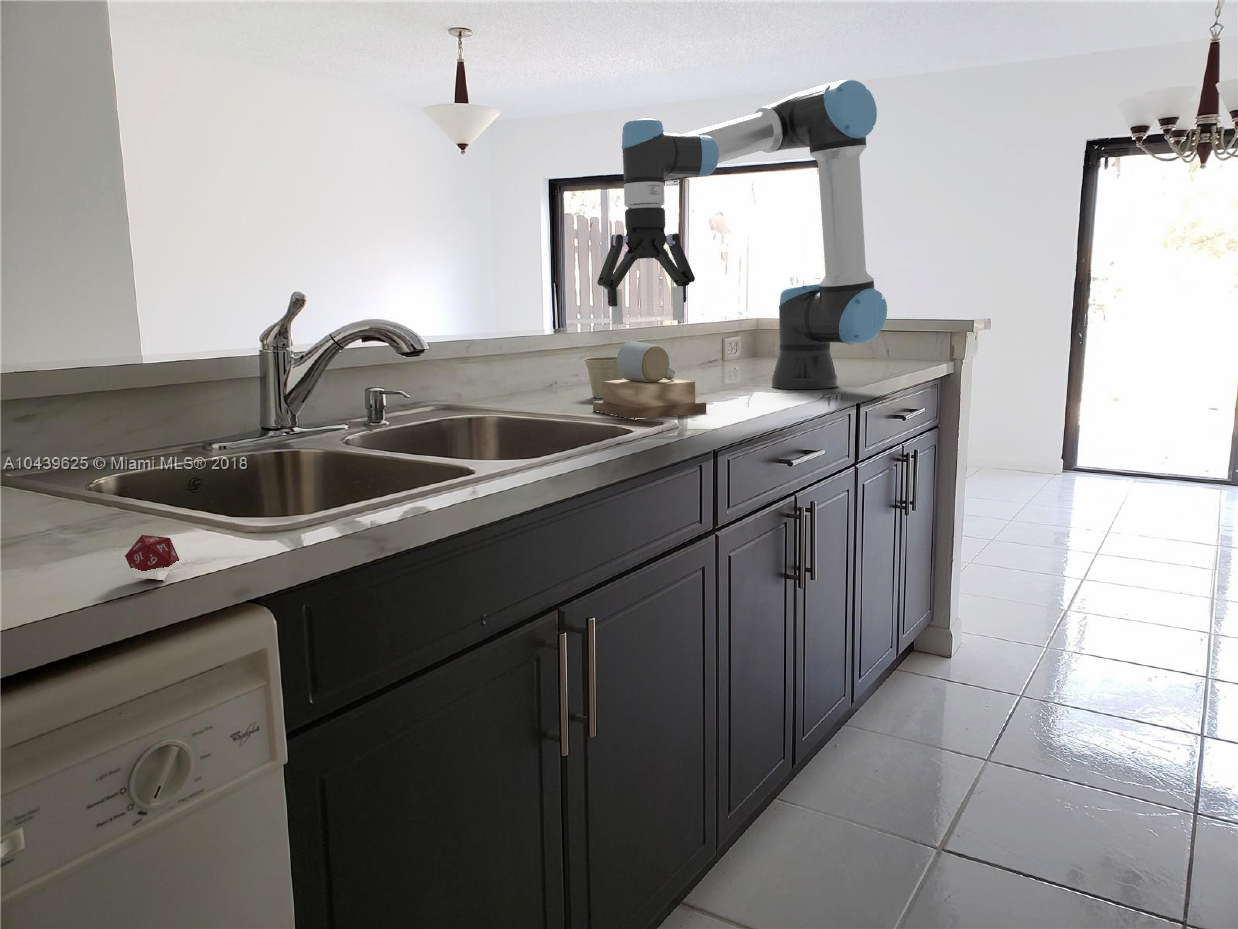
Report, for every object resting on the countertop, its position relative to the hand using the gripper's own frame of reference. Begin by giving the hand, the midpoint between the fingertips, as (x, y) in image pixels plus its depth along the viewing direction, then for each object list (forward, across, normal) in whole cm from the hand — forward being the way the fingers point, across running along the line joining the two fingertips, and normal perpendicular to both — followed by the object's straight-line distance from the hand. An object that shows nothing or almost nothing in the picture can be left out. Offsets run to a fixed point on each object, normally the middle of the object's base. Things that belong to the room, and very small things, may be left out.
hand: (648, 322), depth 179 cm
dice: (+16, -92, -66) cm, 114 cm away
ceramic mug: (+12, 0, 0) cm, 12 cm away
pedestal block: (+15, -1, 0) cm, 15 cm away
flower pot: (+18, +5, +28) cm, 34 cm away
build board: (+17, -1, 0) cm, 17 cm away
